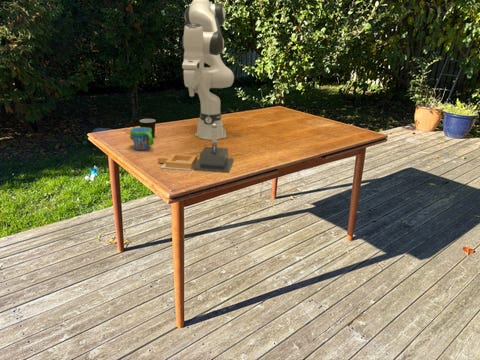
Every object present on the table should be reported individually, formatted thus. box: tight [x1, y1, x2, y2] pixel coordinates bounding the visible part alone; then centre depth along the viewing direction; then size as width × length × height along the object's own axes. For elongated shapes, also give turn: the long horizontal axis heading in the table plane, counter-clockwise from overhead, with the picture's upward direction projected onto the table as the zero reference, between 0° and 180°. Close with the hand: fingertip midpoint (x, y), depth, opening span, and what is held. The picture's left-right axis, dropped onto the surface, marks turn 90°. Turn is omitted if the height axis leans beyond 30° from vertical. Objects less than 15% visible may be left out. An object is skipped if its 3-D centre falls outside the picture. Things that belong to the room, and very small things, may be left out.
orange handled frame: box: [157, 153, 198, 170], centre depth 174 cm, size 12×17×2 cm
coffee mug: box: [132, 118, 157, 139], centre depth 209 cm, size 12×9×10 cm
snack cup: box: [129, 126, 155, 151], centre depth 191 cm, size 16×10×10 cm
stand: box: [193, 123, 234, 174], centre depth 170 cm, size 16×16×20 cm
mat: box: [160, 158, 199, 172], centre depth 174 cm, size 14×14×1 cm
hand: (194, 94), depth 171 cm, fingers open, 8 cm apart
